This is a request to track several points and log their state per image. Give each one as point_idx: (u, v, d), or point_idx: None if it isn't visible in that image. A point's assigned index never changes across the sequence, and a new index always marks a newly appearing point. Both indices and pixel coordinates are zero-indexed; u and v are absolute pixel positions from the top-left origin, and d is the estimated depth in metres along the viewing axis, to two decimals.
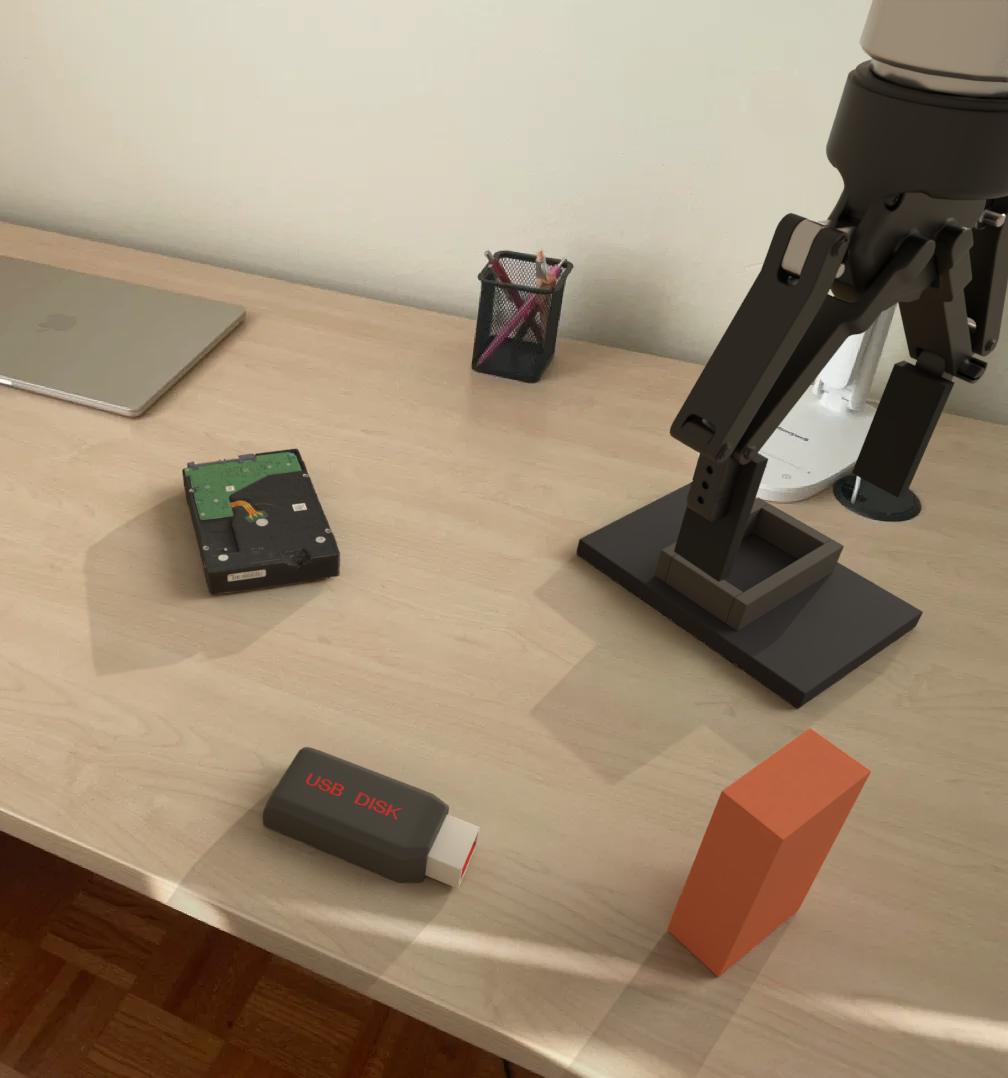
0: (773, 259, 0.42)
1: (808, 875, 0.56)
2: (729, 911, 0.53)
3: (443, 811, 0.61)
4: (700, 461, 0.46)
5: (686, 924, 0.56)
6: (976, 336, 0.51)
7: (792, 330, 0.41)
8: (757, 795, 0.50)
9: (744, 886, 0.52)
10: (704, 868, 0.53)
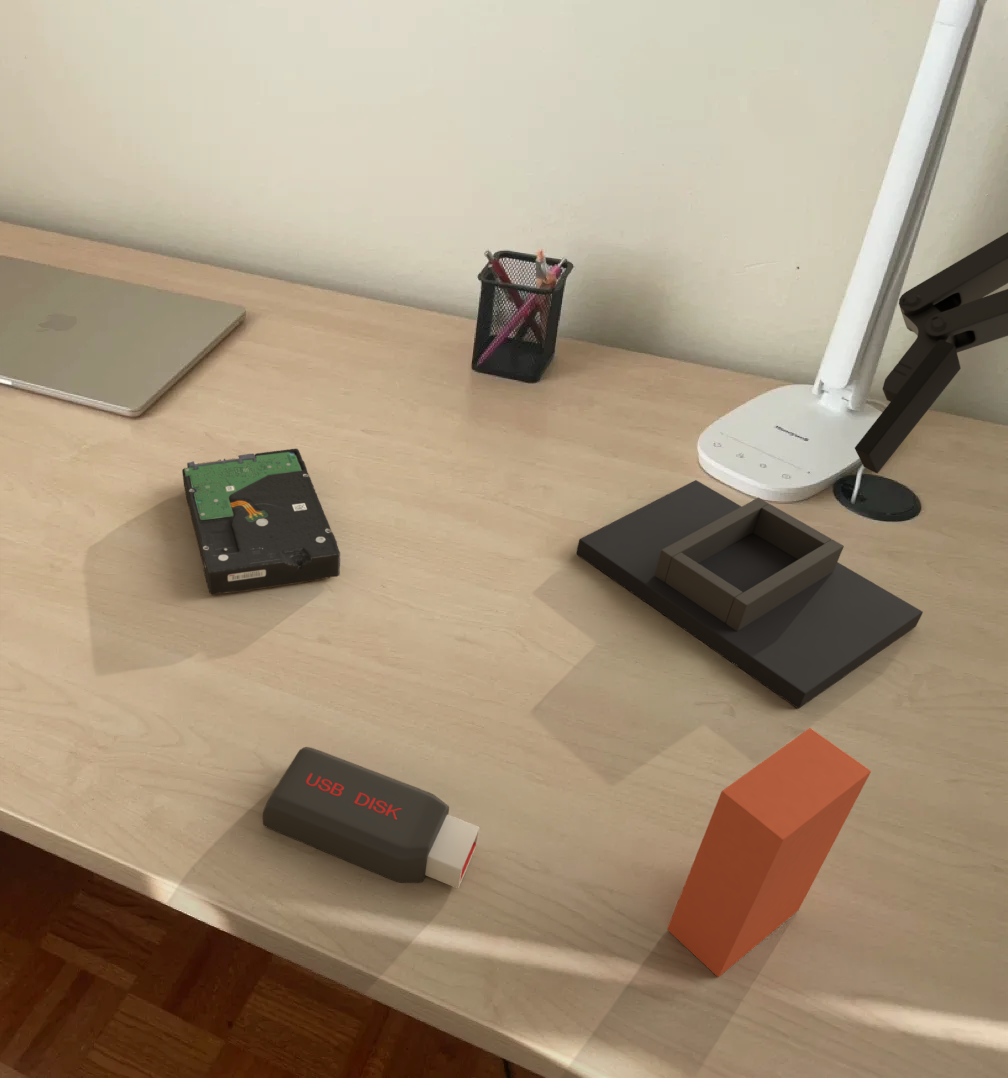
0: None
1: (808, 875, 0.56)
2: (729, 911, 0.53)
3: (443, 811, 0.61)
4: None
5: (686, 924, 0.56)
6: None
7: None
8: (757, 795, 0.50)
9: (744, 886, 0.52)
10: (704, 868, 0.53)
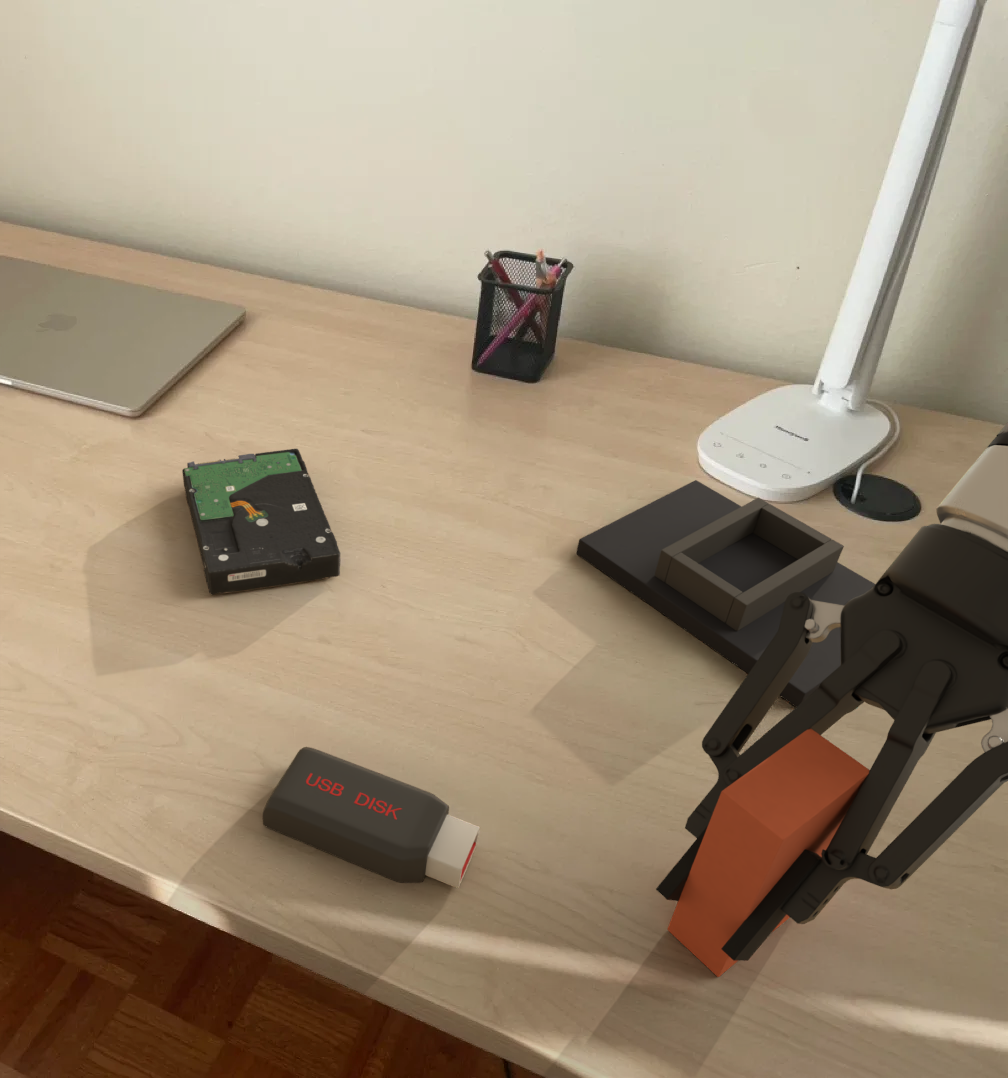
0: None
1: None
2: (729, 911, 0.53)
3: (443, 811, 0.61)
4: None
5: (686, 924, 0.56)
6: None
7: (764, 658, 0.56)
8: (757, 795, 0.50)
9: (744, 886, 0.52)
10: (705, 868, 0.53)
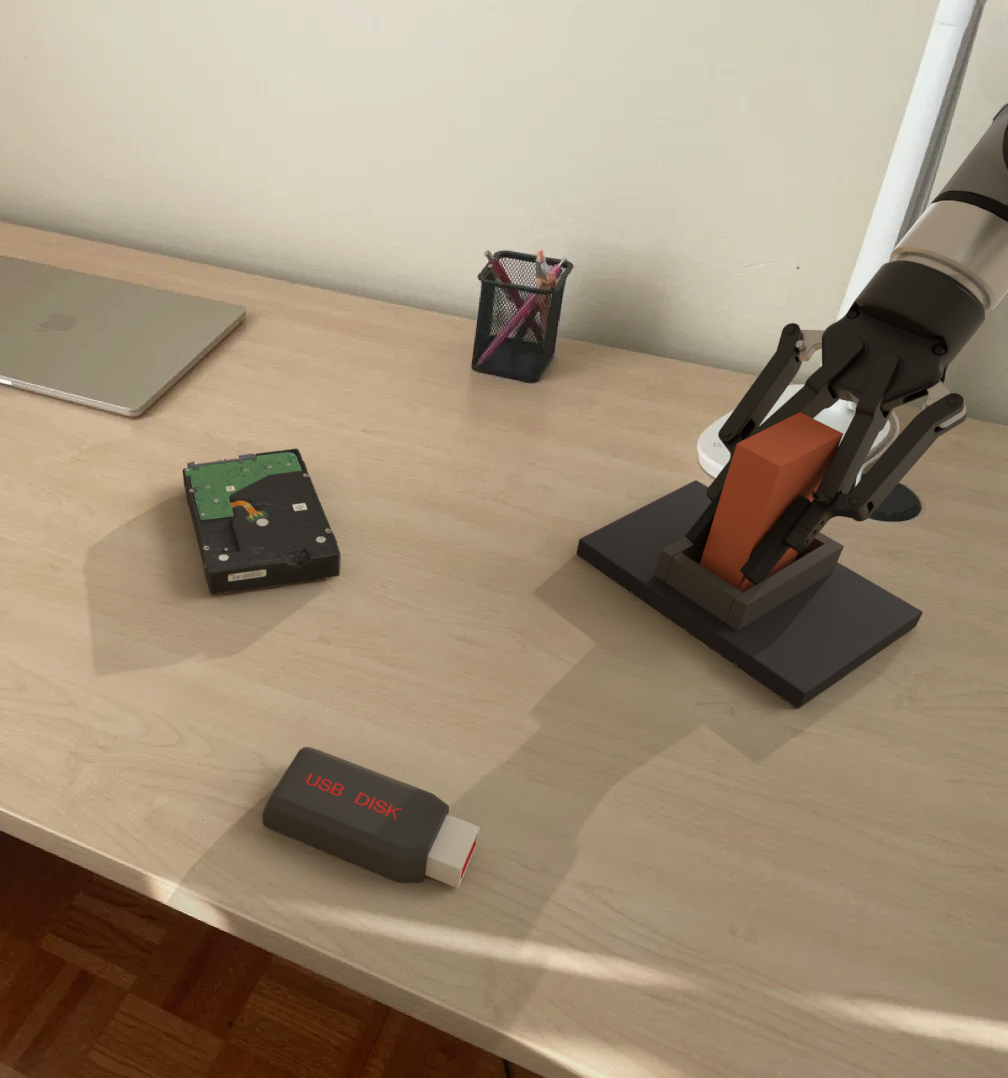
0: None
1: None
2: (742, 542, 0.74)
3: (443, 811, 0.61)
4: None
5: (709, 567, 0.77)
6: None
7: (765, 370, 0.77)
8: (762, 445, 0.71)
9: (753, 516, 0.72)
10: (724, 512, 0.74)
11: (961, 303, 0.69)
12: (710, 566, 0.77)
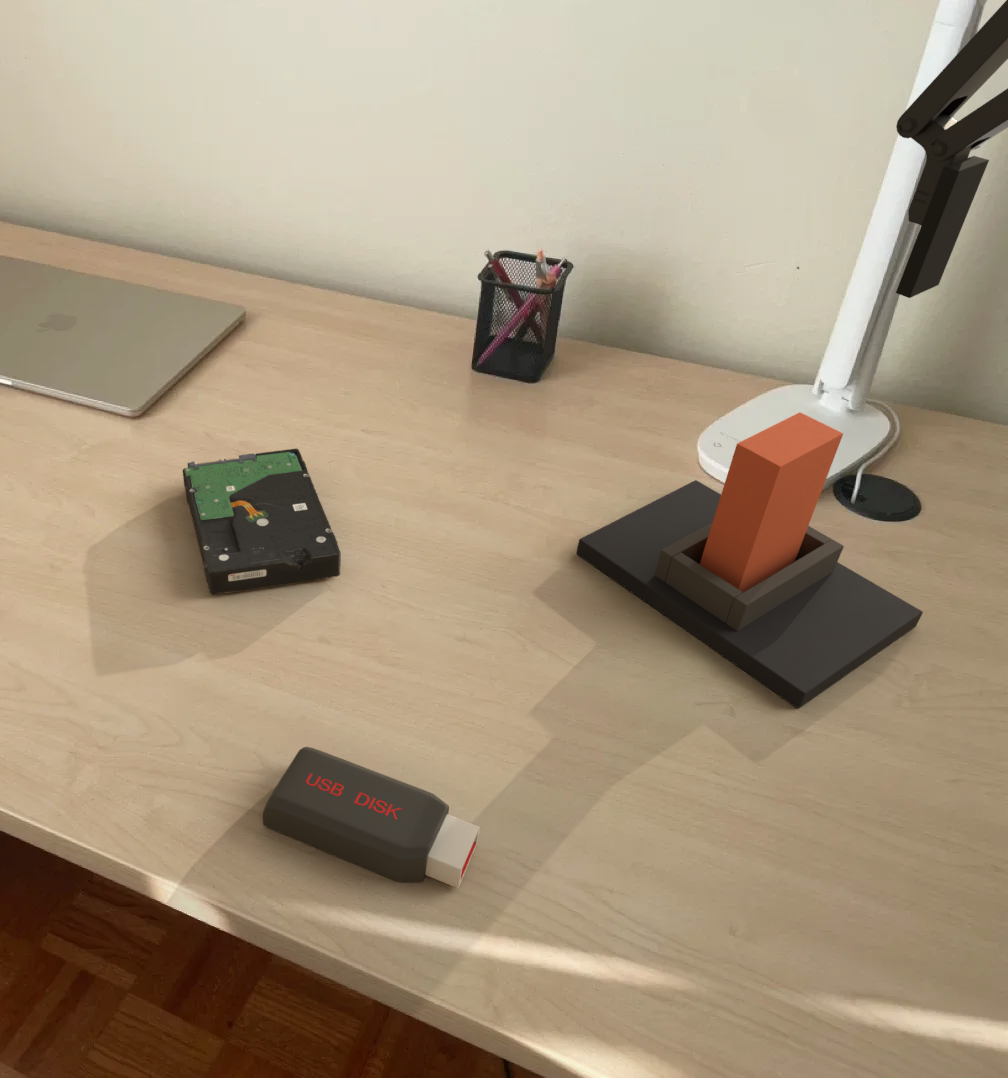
0: None
1: (799, 527, 0.76)
2: (742, 542, 0.74)
3: (443, 811, 0.61)
4: None
5: (709, 567, 0.77)
6: None
7: (991, 24, 0.47)
8: (762, 445, 0.71)
9: (753, 516, 0.72)
10: (724, 512, 0.74)
11: None
12: (710, 566, 0.77)
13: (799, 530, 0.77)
